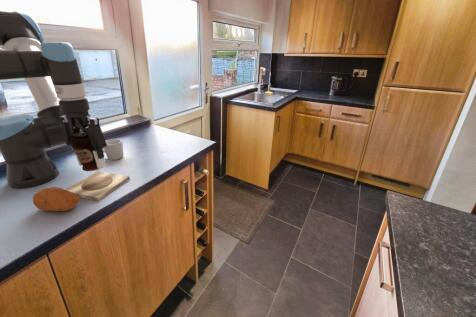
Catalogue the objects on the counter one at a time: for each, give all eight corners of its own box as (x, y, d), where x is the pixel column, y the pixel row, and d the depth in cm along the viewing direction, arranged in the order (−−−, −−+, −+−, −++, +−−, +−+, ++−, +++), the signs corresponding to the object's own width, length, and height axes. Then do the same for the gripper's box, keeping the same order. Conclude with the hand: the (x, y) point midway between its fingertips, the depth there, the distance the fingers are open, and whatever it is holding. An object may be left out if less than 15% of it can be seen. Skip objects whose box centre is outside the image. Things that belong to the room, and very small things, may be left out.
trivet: (63, 193, 80) (62, 190, 80) (98, 173, 93) (97, 170, 93) (98, 200, 76) (97, 197, 76) (129, 178, 90) (129, 176, 89)
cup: (96, 160, 105) (92, 143, 101) (109, 153, 112) (105, 137, 109) (117, 162, 103) (113, 145, 99) (129, 155, 110) (125, 139, 106)
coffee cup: (94, 175, 77) (83, 137, 71) (72, 172, 78) (60, 136, 73) (112, 163, 85) (103, 129, 79) (92, 161, 86) (82, 127, 81)
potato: (52, 199, 77) (45, 181, 74) (87, 203, 75) (80, 184, 72) (31, 213, 71) (22, 193, 68) (68, 218, 69) (61, 198, 66)
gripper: (35, 99, 71) (60, 166, 80) (88, 102, 66) (108, 173, 75) (58, 95, 77) (79, 157, 87) (108, 97, 72) (124, 163, 82)
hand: (92, 165), depth 81 cm, fingers closed on coffee cup, 7 cm apart
